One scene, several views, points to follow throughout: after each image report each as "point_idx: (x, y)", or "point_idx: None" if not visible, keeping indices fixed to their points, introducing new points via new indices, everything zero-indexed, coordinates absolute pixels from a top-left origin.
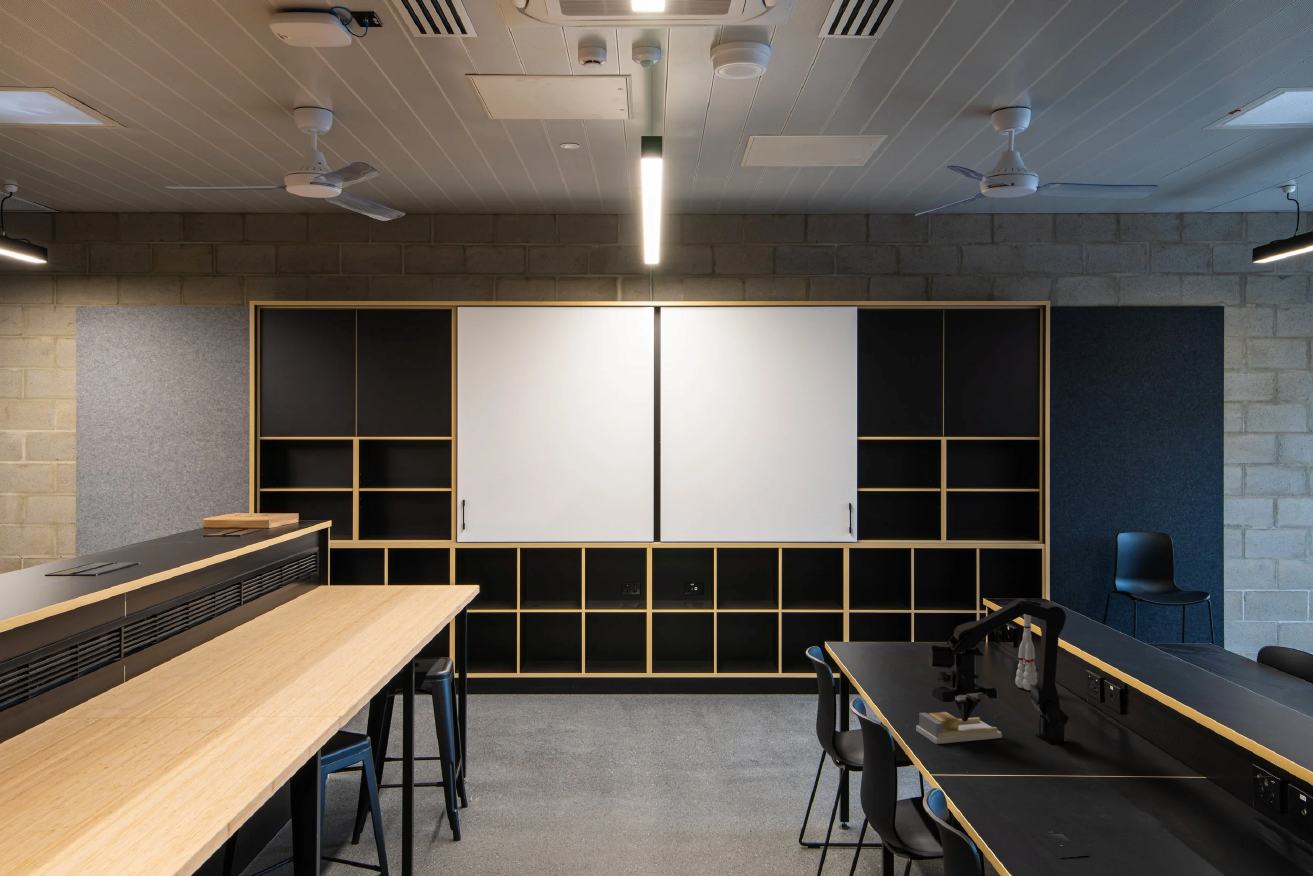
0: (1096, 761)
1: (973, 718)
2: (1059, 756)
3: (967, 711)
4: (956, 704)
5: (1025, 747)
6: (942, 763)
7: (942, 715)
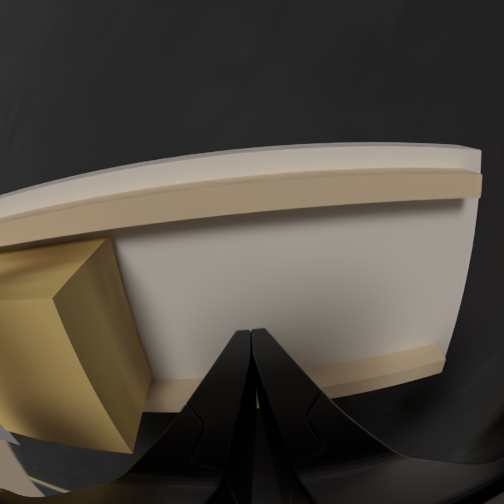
0: (491, 447)
1: (433, 194)
2: (452, 448)
3: (250, 482)
4: (143, 460)
5: (428, 417)
6: (48, 463)
7: (12, 370)
